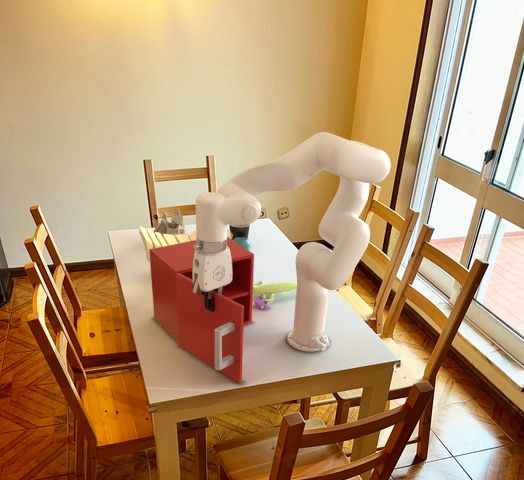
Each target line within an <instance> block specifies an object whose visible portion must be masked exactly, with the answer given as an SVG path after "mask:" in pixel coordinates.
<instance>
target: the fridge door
mask: <svg viewBox="0 0 524 480" xmlns="http://www.w3.org/2000/svg"><path fill="white" fill-rule="evenodd" d="M176 288H177V310H178V331H179V343H178V347H180V348H182V349H184V350H185V351H187V352H188V353H190V354H192V355H193V356H195V357H196V358H198V359H200V360H201V361H203V362H204V363H206V364H207V365H209V366H211V367H212V368H214V370H216V371H219V372H220V373H222V374H223V375H225V376H226V377H228V378H230V379H231V380H233V381H234V382H237V383H238V384H241V383H242V382H243V357H244V356H243V355H244V353H243V352H244V325H243V320H244V306H243V305H241V304H239V303H237V302H235V301H233V300H231V299H229V298H227V297H225V296H223V295H221V294H219V293H217V292H215V291H213V290H212V298H214V311H213V312H210V311H209V310H207V309H205V306H204V296H203V295H196V294H195V293H193V289H194V285H193V280H192V279H190V278H188V277H186V276H184V275H182V274H180V273H176Z"/></svg>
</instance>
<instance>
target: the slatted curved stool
mask: <svg viewBox="0 0 524 480" xmlns="http://www.w3.org/2000/svg"><path fill="white" fill-rule="evenodd" d="M138 231H139V235H140V238H141V240H142V242H143V246H144V251H145V258H146V260H147V262H148V263H150V253H149V249H153V248H158V247H163V246H169V245H174V244H178V243H184V242H189V241H194V240H196V230H194V231H191V232H188V233H186V234H179V235H175V237H176V239H177V240H176V239H175V237H174V236H173V235H170V234H163V237H162V235H161V234H160V233H158V232H155V233H154V230H150V229H145V227H142V226H140V225H139V226H138ZM227 237H228V238H230V239H231V234H230V229H228V228H227ZM177 241H178V242H177Z"/></svg>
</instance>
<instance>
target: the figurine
mask: <svg viewBox="0 0 524 480" xmlns="http://www.w3.org/2000/svg"><path fill="white" fill-rule="evenodd" d="M293 290H297V281H279V282H274V283H273V282H271V283H267V284H263V281H259V282H257V283H253V295H255V294H256V295H260V296H259V297H257V298H255V300H254V306H256V307H257V308H259V309H260V310H263V309H265V310H267V309H268V307H269V305H268V303H269V302H273V301H274V300H275V294H278V295H280V296H284V294H281V293H285V292H289V291H293ZM266 297H267V298H266Z"/></svg>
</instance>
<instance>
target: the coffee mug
mask: <svg viewBox="0 0 524 480" xmlns="http://www.w3.org/2000/svg"><path fill="white" fill-rule="evenodd" d="M250 225H251V224H248V225H228V227H229V232H230V234H231V239H232V240H234V239H235V238H237V237H236V236H235V233H236V229H239V228H243V229H246V230H247V236H246V237H245V238H247V239H248V240H249V235H250Z"/></svg>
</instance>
